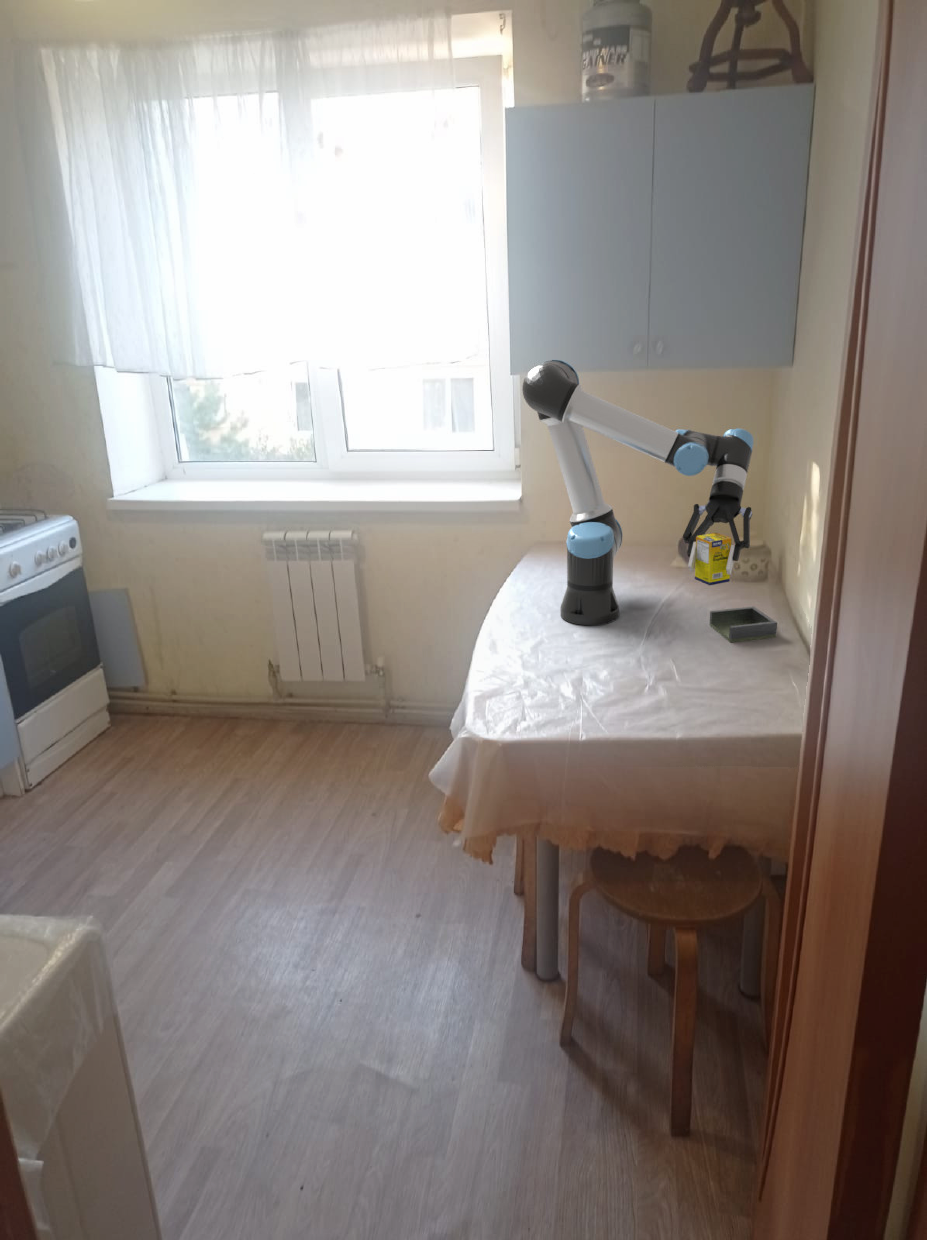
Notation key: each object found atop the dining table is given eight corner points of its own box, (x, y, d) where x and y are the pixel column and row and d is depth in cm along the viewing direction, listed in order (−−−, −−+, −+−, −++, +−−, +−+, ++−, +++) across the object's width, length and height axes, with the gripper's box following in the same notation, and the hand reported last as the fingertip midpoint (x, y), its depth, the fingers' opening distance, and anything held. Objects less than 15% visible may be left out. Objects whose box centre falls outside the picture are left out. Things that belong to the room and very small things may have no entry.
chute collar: (709, 625, 219) (710, 611, 218) (752, 620, 221) (753, 606, 220) (730, 642, 209) (731, 627, 207) (775, 637, 210) (777, 622, 209)
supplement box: (730, 581, 209) (732, 537, 205) (709, 586, 207) (710, 541, 204) (714, 575, 215) (716, 531, 211) (694, 579, 213) (695, 535, 209)
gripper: (773, 498, 213) (756, 581, 205) (687, 493, 222) (668, 573, 215) (771, 481, 206) (753, 566, 199) (682, 477, 216) (662, 558, 209)
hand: (709, 570), depth 207 cm, fingers closed on supplement box, 8 cm apart
